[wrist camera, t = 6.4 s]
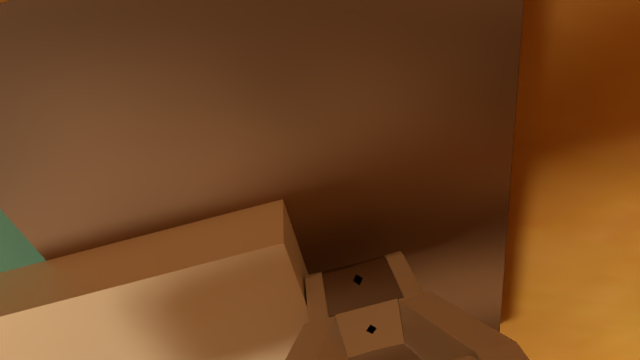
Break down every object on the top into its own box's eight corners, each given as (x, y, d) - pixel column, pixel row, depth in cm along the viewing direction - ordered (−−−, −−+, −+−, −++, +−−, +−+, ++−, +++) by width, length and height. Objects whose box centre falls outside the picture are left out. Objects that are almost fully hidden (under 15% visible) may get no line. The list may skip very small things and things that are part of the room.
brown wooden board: (473, 333, 16) (496, 371, 14) (218, 399, 16) (210, 445, 15) (476, -105, 8) (534, -142, 6) (-52, 38, 8) (-148, 43, 6)
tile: (326, 328, 12) (335, 383, 10) (98, 387, 12) (66, 453, 10) (282, 198, 9) (283, 242, 7) (-18, 276, 9) (-92, 340, 7)
